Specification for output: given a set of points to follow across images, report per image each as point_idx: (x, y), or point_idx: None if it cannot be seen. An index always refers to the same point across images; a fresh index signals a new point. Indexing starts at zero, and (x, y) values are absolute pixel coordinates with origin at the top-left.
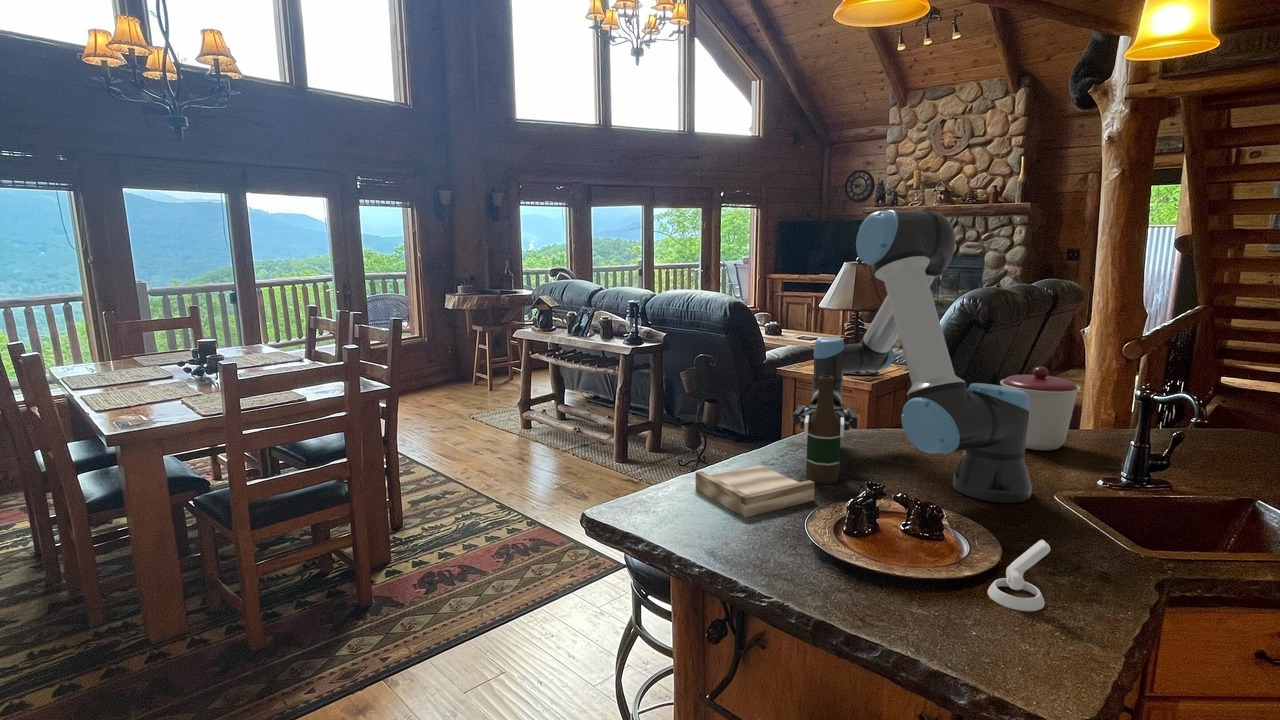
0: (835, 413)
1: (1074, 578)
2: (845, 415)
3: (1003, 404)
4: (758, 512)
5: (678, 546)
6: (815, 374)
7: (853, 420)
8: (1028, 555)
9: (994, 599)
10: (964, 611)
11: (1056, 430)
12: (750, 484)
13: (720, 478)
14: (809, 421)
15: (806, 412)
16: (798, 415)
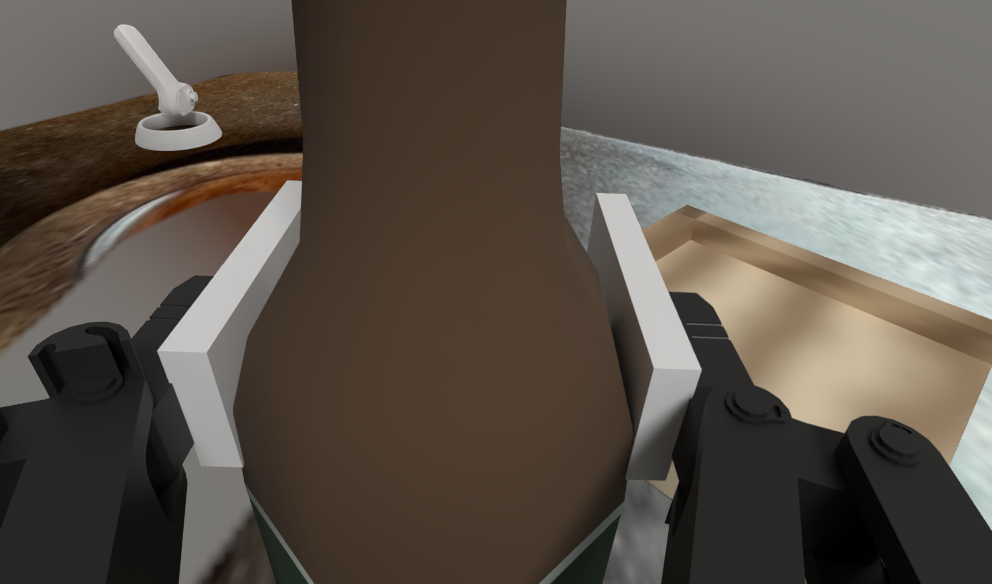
0: (291, 259)
1: (6, 167)
2: (123, 331)
3: None
4: None
5: (735, 174)
6: None
7: (13, 405)
8: (153, 52)
9: (220, 129)
10: (283, 120)
11: None
12: (755, 334)
13: (911, 366)
14: (629, 414)
15: (787, 578)
16: (841, 461)
